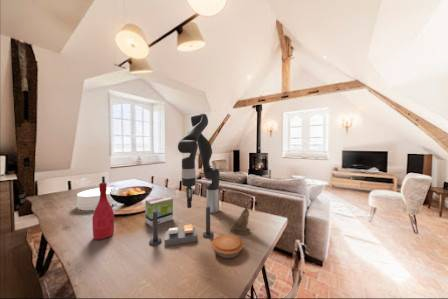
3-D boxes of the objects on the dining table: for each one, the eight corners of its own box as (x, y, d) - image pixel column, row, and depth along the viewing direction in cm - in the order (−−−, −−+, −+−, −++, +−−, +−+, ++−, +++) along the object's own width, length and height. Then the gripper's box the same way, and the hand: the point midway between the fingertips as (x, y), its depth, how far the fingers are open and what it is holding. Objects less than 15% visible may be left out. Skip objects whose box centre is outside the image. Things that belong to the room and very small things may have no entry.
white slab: (177, 229, 93) (177, 227, 93) (177, 233, 87) (177, 230, 87) (169, 230, 92) (169, 228, 92) (168, 234, 86) (168, 231, 86)
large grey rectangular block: (195, 232, 97) (194, 226, 97) (196, 241, 88) (196, 233, 88) (166, 236, 93) (166, 229, 93) (164, 245, 84) (164, 238, 84)
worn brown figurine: (250, 235, 99) (256, 206, 97) (247, 240, 94) (254, 210, 92) (231, 227, 103) (237, 200, 102) (228, 231, 98) (235, 202, 96)
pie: (249, 257, 76) (249, 247, 75) (215, 264, 71) (215, 253, 71) (236, 239, 90) (236, 230, 90) (208, 244, 86) (208, 234, 86)
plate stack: (92, 200, 155) (92, 187, 155) (124, 198, 158) (124, 187, 158) (67, 211, 127) (67, 197, 127) (106, 210, 131) (106, 195, 130)
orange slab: (191, 226, 95) (191, 224, 95) (192, 232, 89) (192, 229, 89) (184, 227, 94) (184, 225, 94) (184, 233, 88) (184, 231, 88)
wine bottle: (90, 242, 87) (89, 185, 86) (95, 233, 96) (94, 182, 95) (113, 237, 91) (112, 183, 91) (115, 229, 100) (114, 180, 99)
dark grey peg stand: (212, 231, 98) (212, 204, 98) (214, 237, 92) (214, 208, 92) (202, 233, 97) (202, 205, 96) (203, 238, 91) (203, 209, 90)
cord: (162, 238, 91) (161, 209, 91) (160, 244, 85) (160, 213, 85) (150, 239, 89) (149, 210, 89) (148, 246, 84) (147, 215, 83)
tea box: (151, 227, 103) (151, 203, 103) (144, 222, 110) (144, 200, 110) (173, 219, 114) (173, 198, 114) (166, 215, 121) (165, 195, 121)
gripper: (196, 178, 86) (197, 211, 87) (194, 173, 98) (195, 202, 99) (181, 179, 84) (182, 213, 85) (181, 174, 96) (182, 204, 97)
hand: (189, 207), depth 92 cm, fingers closed
